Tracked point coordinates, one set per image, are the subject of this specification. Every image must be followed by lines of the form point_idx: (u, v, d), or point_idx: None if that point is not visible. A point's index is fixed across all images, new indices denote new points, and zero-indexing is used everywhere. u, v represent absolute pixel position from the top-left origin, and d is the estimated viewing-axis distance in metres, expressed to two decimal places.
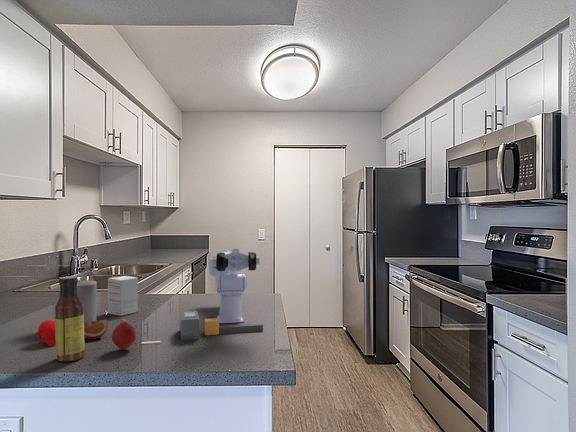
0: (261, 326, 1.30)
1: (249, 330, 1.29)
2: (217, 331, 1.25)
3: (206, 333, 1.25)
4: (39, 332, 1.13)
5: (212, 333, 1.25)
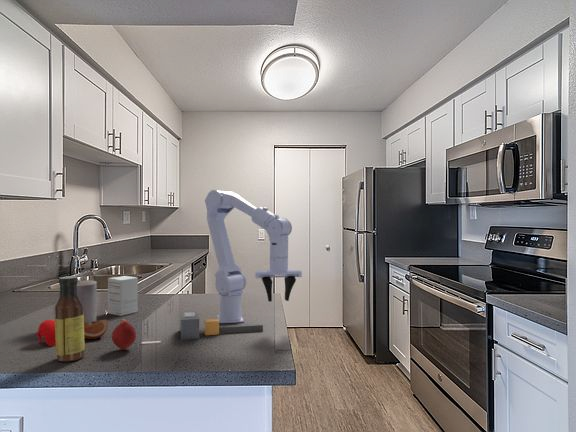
0: (261, 326, 1.30)
1: (249, 330, 1.29)
2: (217, 331, 1.25)
3: (206, 333, 1.25)
4: (39, 332, 1.13)
5: (212, 333, 1.25)
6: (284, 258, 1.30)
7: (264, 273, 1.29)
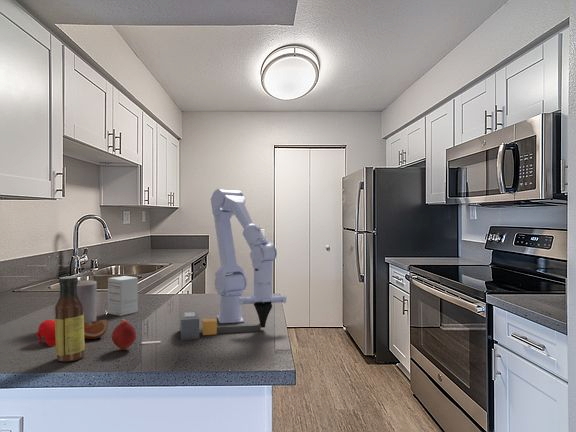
0: (259, 326, 1.30)
1: (247, 330, 1.29)
2: (215, 331, 1.25)
3: (204, 333, 1.24)
4: (39, 332, 1.13)
5: (210, 333, 1.25)
6: (268, 284, 1.29)
7: (248, 299, 1.28)
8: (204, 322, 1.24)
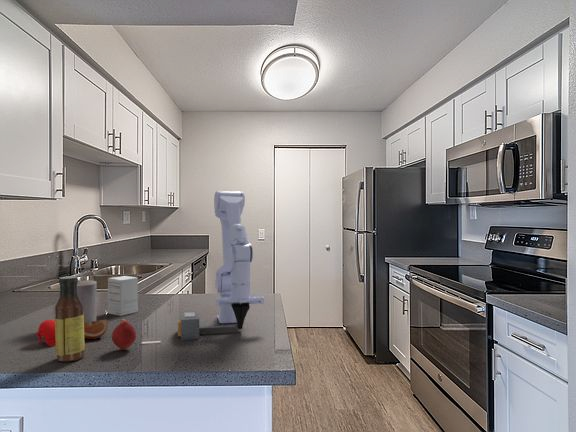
0: (236, 327, 1.28)
1: (223, 331, 1.27)
2: None
3: (179, 334, 1.23)
4: (39, 332, 1.13)
5: None
6: (245, 285, 1.27)
7: (224, 300, 1.26)
8: (179, 323, 1.23)
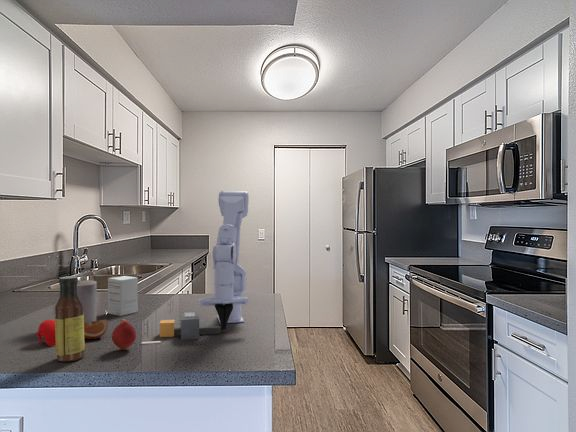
0: (219, 328, 1.26)
1: (206, 332, 1.26)
2: (172, 333, 1.22)
3: (160, 335, 1.22)
4: (39, 332, 1.13)
5: (167, 335, 1.22)
6: (228, 285, 1.25)
7: (207, 301, 1.25)
8: (161, 324, 1.22)
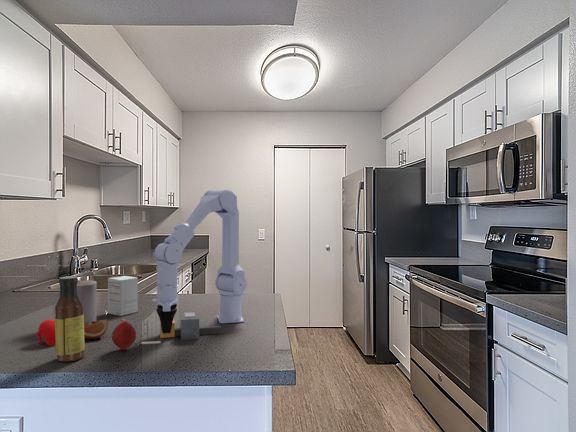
0: (219, 328, 1.27)
1: (206, 332, 1.26)
2: (172, 333, 1.22)
3: (161, 335, 1.21)
4: (39, 332, 1.13)
5: (167, 335, 1.22)
6: (157, 285, 1.21)
7: None
8: None
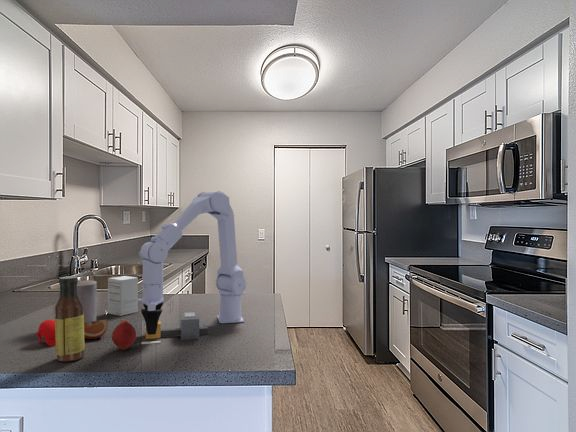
0: (206, 329, 1.25)
1: None
2: (158, 334, 1.21)
3: (147, 337, 1.20)
4: (39, 332, 1.13)
5: (153, 337, 1.21)
6: (143, 285, 1.20)
7: None
8: None
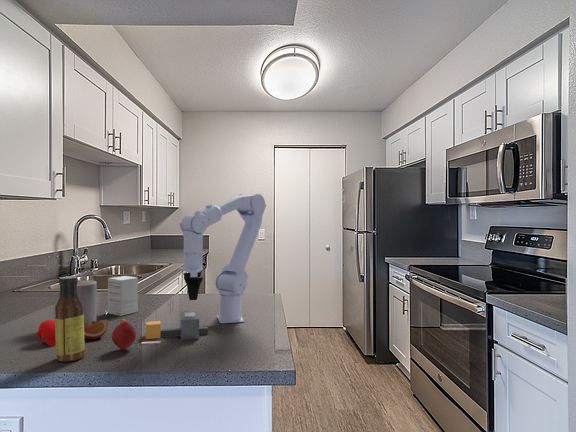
0: (206, 329, 1.25)
1: None
2: (158, 334, 1.21)
3: (147, 337, 1.20)
4: (39, 332, 1.13)
5: (153, 337, 1.21)
6: (184, 254, 1.28)
7: None
8: (147, 325, 1.20)
